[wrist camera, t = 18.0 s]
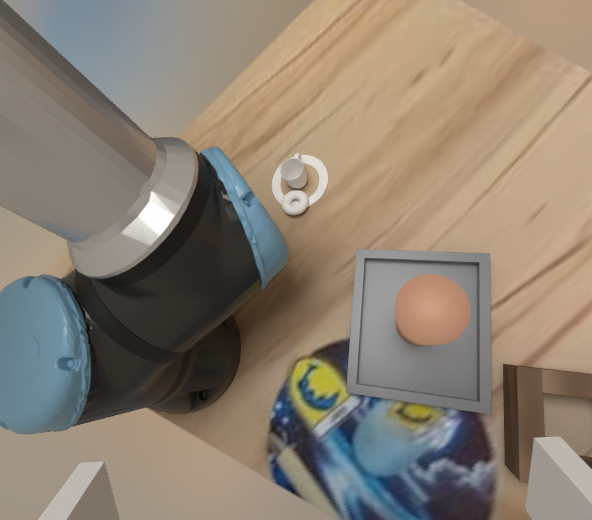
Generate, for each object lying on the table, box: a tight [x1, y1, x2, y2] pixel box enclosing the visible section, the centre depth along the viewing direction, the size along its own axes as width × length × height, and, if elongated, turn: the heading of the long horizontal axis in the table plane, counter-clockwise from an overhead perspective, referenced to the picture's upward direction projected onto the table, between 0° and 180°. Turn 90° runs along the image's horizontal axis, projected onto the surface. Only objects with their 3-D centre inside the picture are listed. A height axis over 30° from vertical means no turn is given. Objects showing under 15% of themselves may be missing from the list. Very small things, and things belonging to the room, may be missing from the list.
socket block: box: [503, 364, 592, 483], centre depth 32 cm, size 10×10×4 cm
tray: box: [346, 249, 492, 415], centre depth 39 cm, size 14×16×2 cm
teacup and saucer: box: [272, 153, 328, 215], centre depth 46 cm, size 9×8×4 cm
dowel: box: [395, 274, 471, 346], centre depth 30 cm, size 4×4×18 cm
